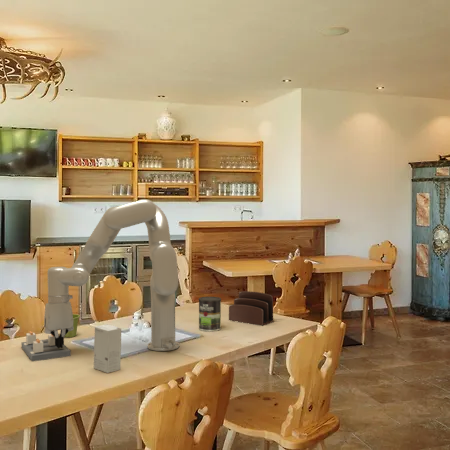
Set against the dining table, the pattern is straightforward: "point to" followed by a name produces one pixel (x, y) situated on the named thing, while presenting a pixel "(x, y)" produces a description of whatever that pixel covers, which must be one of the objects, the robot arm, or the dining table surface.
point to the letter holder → (252, 308)
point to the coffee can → (209, 313)
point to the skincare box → (107, 348)
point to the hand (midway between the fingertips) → (59, 347)
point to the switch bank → (45, 351)
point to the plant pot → (75, 323)
